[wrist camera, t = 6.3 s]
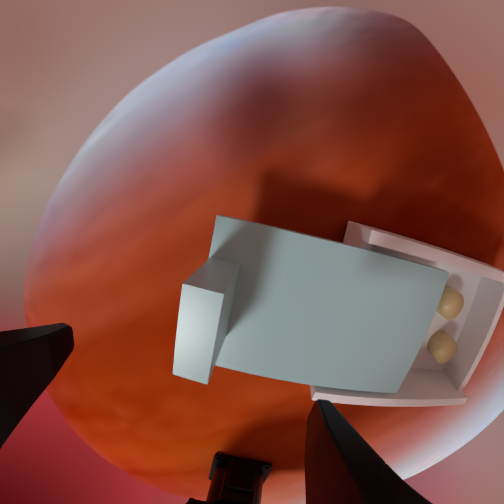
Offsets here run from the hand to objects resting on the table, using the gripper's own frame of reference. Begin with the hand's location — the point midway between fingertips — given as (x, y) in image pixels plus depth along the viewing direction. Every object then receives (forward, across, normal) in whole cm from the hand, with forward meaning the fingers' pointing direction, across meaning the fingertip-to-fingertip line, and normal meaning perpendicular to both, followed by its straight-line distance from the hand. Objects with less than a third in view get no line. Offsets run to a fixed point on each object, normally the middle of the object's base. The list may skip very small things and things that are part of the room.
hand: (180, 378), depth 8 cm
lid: (+8, -6, 0) cm, 10 cm away
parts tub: (+12, -14, 0) cm, 18 cm away
